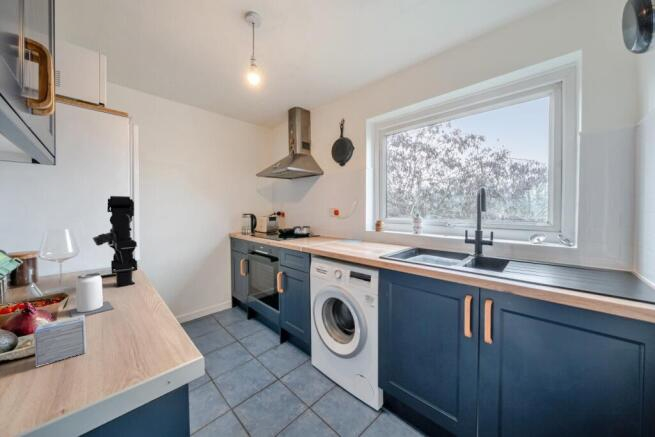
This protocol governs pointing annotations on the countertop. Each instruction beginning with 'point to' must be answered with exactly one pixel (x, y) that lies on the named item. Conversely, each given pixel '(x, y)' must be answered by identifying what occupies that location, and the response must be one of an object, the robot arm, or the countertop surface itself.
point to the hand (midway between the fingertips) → (122, 262)
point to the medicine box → (60, 339)
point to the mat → (105, 307)
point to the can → (89, 292)
